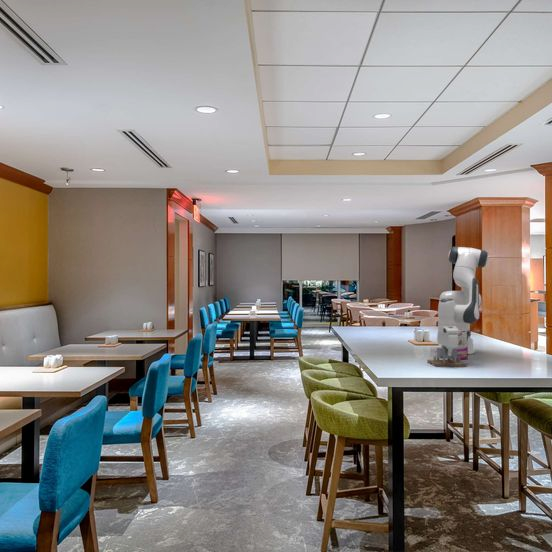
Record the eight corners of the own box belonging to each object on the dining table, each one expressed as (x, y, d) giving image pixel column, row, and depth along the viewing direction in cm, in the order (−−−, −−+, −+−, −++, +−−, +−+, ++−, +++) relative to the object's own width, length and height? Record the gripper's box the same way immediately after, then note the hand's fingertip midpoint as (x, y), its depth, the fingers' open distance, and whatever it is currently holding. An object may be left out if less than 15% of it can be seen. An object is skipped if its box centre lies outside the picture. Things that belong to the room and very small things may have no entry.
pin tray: (427, 362, 260) (427, 354, 260) (456, 362, 260) (456, 354, 260) (436, 366, 246) (436, 358, 246) (466, 366, 246) (466, 358, 246)
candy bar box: (461, 357, 275) (461, 329, 276) (468, 359, 271) (467, 330, 271) (446, 359, 271) (446, 330, 271) (452, 360, 266) (452, 331, 267)
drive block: (436, 356, 255) (436, 347, 255) (453, 356, 255) (453, 347, 256) (440, 358, 250) (440, 348, 250) (457, 358, 250) (457, 348, 251)
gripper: (434, 327, 263) (434, 351, 263) (448, 330, 243) (448, 357, 243) (445, 327, 263) (445, 351, 263) (460, 330, 243) (460, 357, 243)
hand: (446, 354), depth 253 cm, fingers closed on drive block, 5 cm apart
